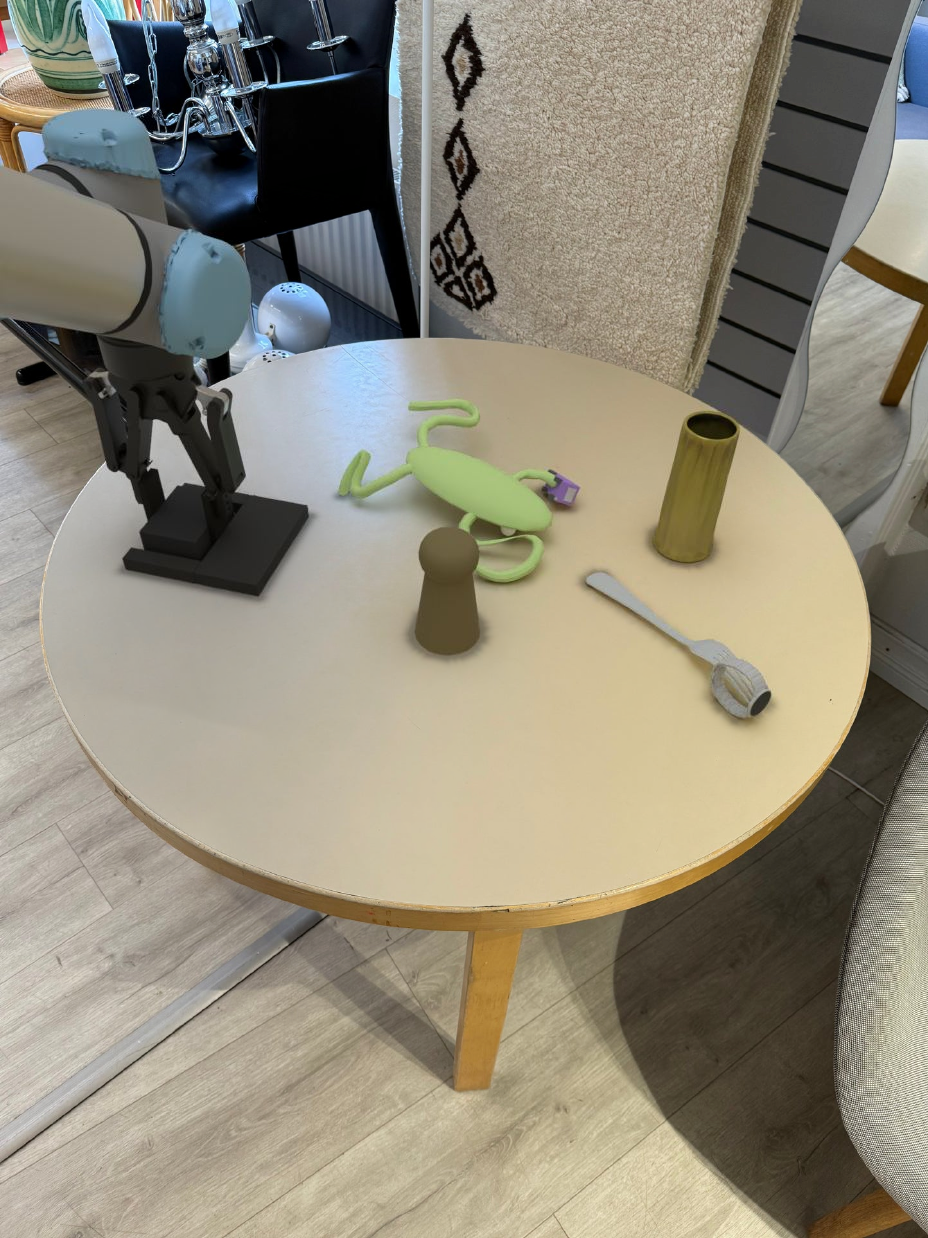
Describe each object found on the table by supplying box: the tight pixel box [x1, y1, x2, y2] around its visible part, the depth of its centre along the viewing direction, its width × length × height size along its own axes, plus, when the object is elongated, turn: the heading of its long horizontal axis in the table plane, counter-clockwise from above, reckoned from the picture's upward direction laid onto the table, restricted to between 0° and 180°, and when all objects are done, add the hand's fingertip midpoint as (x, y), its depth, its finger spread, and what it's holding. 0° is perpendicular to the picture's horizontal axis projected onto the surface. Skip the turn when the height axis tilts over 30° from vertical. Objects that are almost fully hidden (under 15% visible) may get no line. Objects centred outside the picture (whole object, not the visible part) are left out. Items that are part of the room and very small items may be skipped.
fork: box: [585, 571, 754, 705], centre depth 84 cm, size 3×21×3 cm, turn 39°
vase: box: [652, 410, 741, 563], centre depth 89 cm, size 6×6×14 cm
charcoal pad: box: [138, 485, 236, 562], centre depth 91 cm, size 6×8×3 cm
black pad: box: [121, 482, 310, 597], centre depth 91 cm, size 14×13×2 cm
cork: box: [414, 526, 481, 656], centre depth 80 cm, size 6×6×11 cm
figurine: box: [338, 398, 581, 583], centre depth 96 cm, size 18×27×6 cm
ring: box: [709, 656, 772, 719], centre depth 76 cm, size 3×5×5 cm, turn 36°
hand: (191, 533), depth 92 cm, fingers closed on charcoal pad, 6 cm apart
